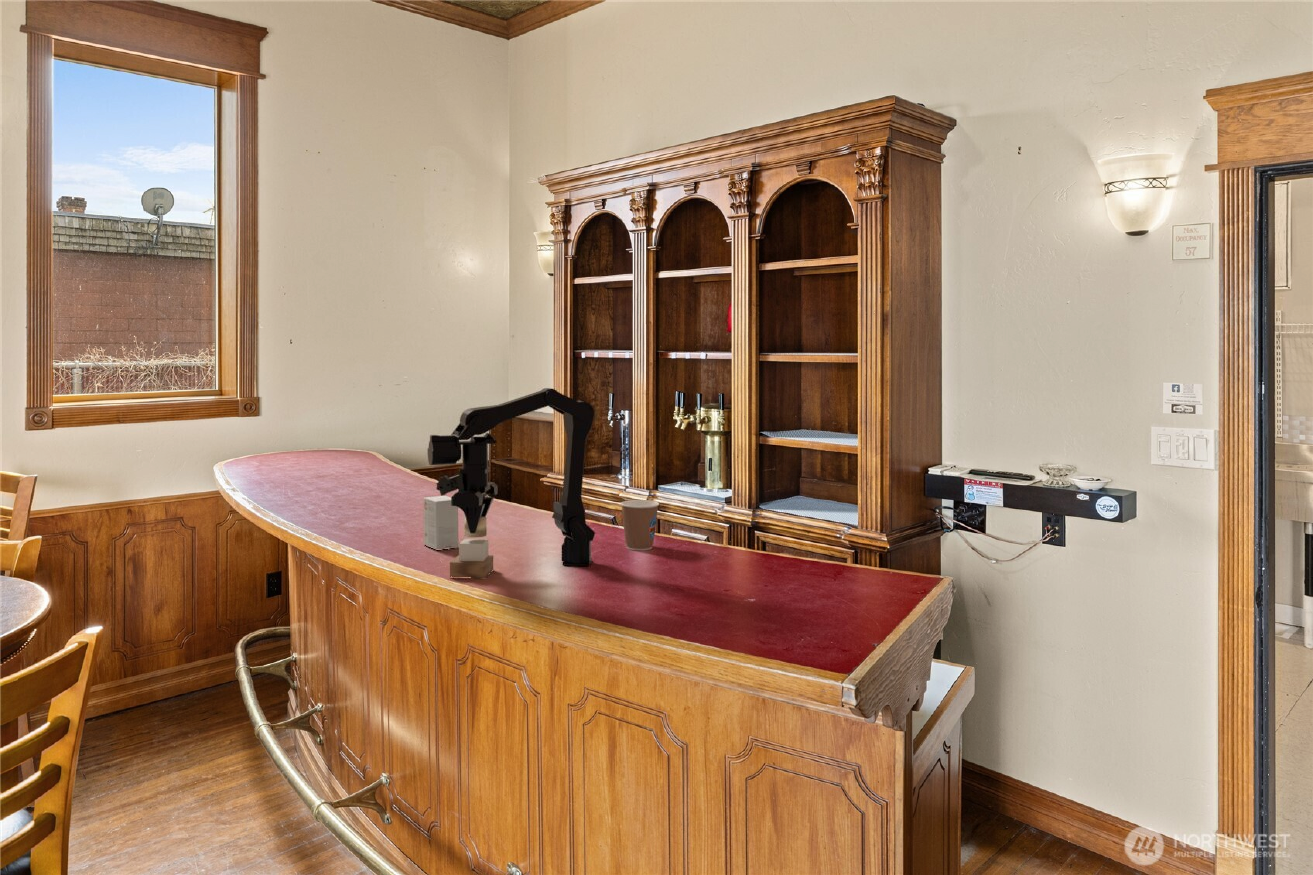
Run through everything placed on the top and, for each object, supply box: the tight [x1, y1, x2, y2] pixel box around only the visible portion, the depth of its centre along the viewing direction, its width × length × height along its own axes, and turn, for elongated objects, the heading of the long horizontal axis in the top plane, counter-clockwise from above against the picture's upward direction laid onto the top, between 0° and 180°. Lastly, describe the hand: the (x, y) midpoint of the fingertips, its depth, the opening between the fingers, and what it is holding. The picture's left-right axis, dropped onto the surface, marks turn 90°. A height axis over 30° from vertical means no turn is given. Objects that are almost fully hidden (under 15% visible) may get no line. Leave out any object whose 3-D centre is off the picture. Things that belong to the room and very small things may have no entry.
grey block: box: [458, 538, 489, 561], centre depth 192 cm, size 6×6×4 cm
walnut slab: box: [449, 554, 494, 579], centre depth 192 cm, size 8×8×4 cm
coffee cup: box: [620, 499, 660, 551], centre depth 222 cm, size 10×10×12 cm
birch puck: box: [463, 516, 488, 538], centre depth 192 cm, size 5×5×4 cm
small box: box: [423, 495, 460, 549], centre depth 219 cm, size 8×6×13 cm
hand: (475, 530), depth 192 cm, fingers closed on birch puck, 5 cm apart
